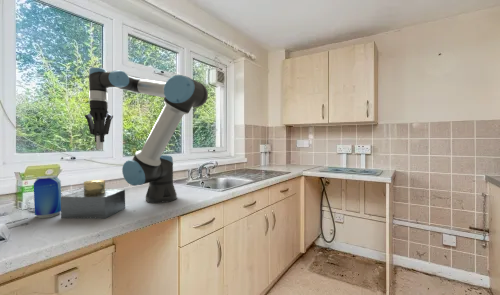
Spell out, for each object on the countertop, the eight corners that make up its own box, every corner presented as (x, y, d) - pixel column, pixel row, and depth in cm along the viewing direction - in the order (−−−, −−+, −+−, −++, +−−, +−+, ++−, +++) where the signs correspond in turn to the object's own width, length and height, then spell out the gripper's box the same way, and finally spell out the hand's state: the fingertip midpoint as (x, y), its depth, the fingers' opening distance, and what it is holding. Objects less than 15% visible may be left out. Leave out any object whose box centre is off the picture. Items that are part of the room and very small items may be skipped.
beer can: (31, 219, 92) (29, 179, 92) (39, 213, 100) (38, 175, 99) (57, 217, 96) (56, 177, 95) (64, 211, 103) (63, 174, 103)
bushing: (109, 208, 105) (109, 179, 104) (97, 214, 97) (97, 183, 97) (93, 208, 105) (92, 179, 104) (80, 214, 97) (79, 182, 97)
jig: (125, 208, 108) (124, 189, 107) (105, 218, 94) (104, 197, 93) (86, 207, 108) (86, 189, 108) (61, 217, 94) (60, 196, 94)
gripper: (116, 101, 119) (117, 148, 120) (90, 101, 120) (92, 148, 121) (106, 99, 112) (108, 149, 113) (79, 99, 112) (81, 149, 113)
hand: (99, 148), depth 117 cm, fingers closed
